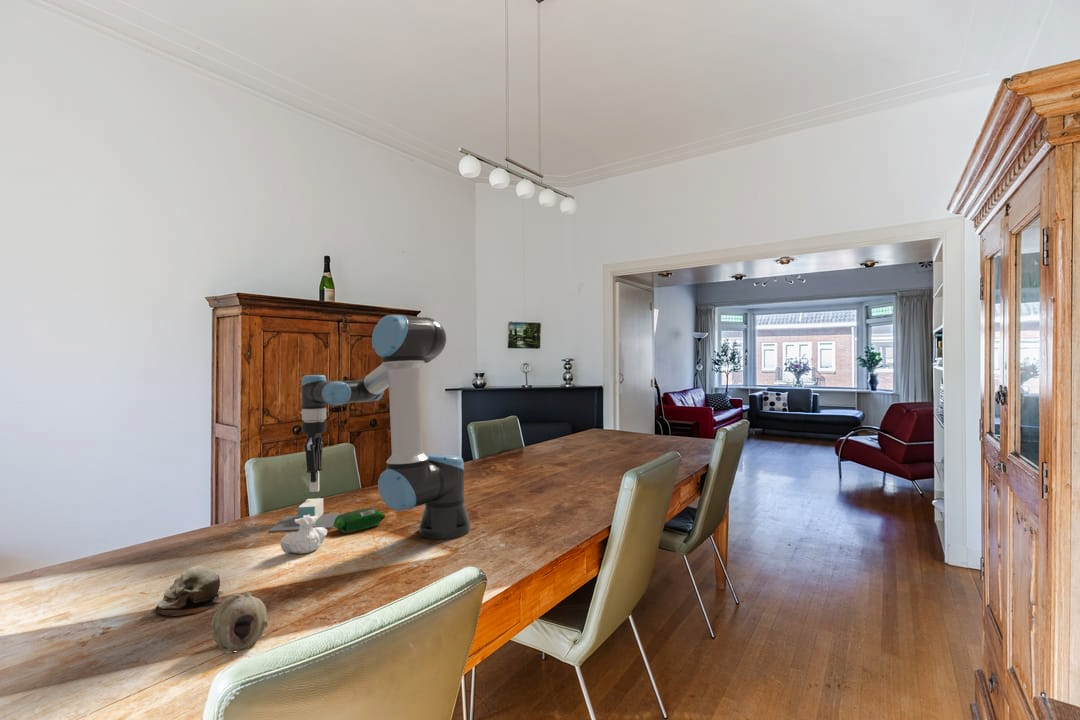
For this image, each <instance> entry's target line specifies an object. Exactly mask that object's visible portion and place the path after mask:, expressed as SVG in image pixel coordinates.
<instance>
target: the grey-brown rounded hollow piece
mask: <svg viewBox="0 0 1080 720" xmlns="http://www.w3.org/2000/svg"><path fill="white" fill-rule="evenodd" d="M268 619H269V618H268V609H267V607H266V605H265V604H264V601H263V600H261V598H258V597H257V596H256V597H255V596H253V595H252V593H251V592H250V591H247V592H245V593H243V594H239V593H234V594H232V595H231V596H229V597H228V598H226V599H225V600H224V601H223V602H222V603H221V604H220V606H219V607H218V608H217V610H216V612H215V613H214V615H213V617H212V620H211V626H212V630H213V634H212V638H213V641H214V642H215V643H216V644H217V645H216V646H217V647H218V648H219V649H220V650H223V652H224V653H226V654H232V653H231V652H234V651H238V650H240V651H242V650H241V649H243V650H245V649H244V648H246V649H249V648H251V647H252V646H253V644H254V643H255V642H256V641H258V640H259V639H260V638H261V637H262V636H263V633H264V631H265V629H266V628H267V627H268V626H269V623H270V621H268ZM250 646H251V647H250ZM248 647H249V648H248ZM238 652H239V651H238Z"/></svg>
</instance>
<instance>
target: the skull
mask: <svg viewBox="0 0 1080 720" xmlns="http://www.w3.org/2000/svg"><path fill="white" fill-rule="evenodd" d="M220 587H221V579H220V575H219V573H218V572H216V571H215V570H213V569H212V568H209V567H208V566H203V565H195V566H192V567H190V568H188V569H186V570H184V571H183V572H181V575H180V577H178V578H175V579H174V581H173V583H172V584H171V585H170V586H169V588H168V589H167V590H166V591H165V592H164V593H163V597H162V599H161V600H160V601H159V602H158V603H157V605H156V606H155V610H154V611H155V612H156V613H158V614H159V615H162V616H168V617H172V616H174V617H181V616H186V615H192V614H196V613H200V612H204V611H206V610H210V609H212V608H215V607H216V606H218V605H219V603H218V602H217V601H216V600H217V598H218V599H219V596H220V595H223V594H224V593H223V592H222V591H220ZM222 600H224V599H222Z"/></svg>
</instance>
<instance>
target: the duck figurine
mask: <svg viewBox="0 0 1080 720" xmlns="http://www.w3.org/2000/svg"><path fill="white" fill-rule="evenodd" d="M317 517H318V516H317V515H315V516H310V515H309V514H308V515H305V516H304V515H303V518H299V519H295V520H294V521H295V522H296V523H297V524H300V527H299V529H300V530H299V531H292V532H290V533H287V534H285V535H284V536H282V537H281V539H280V543H279V544H280V548H281V550H282V552H283V553H285V554H287V553H288V554H289V553H294V554H300V555H302V554H308V553H311V552H313V551H316V550H317V549H318V548H319V547H320V546H321V545H322V544H323V543H324V541H325V538H326V537H327V535H328V529H325V528H323V527H316V528H312V526H315V520H316V519H317Z"/></svg>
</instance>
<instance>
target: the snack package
mask: <svg viewBox="0 0 1080 720" xmlns="http://www.w3.org/2000/svg"><path fill="white" fill-rule="evenodd" d="M342 513H343V512H342ZM385 517H386V514H384V513H382V512H381V511H379V510H377V509H375V508H371V507H366V508H362V509H357V510H353V511H349V512H344V513H343V514H341V515H339V516H337V518H336V519H335V522H334V526H333V527H334V528H336V529H337V531H341V532H342V533H344V534H351V533H354V532H355V533H356V532H358V531H363V530H365V529H366V530H367V529H371V528H374V527H377V526H378V525H380V524H381V522H382V521H383V520H384V519H385Z"/></svg>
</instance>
